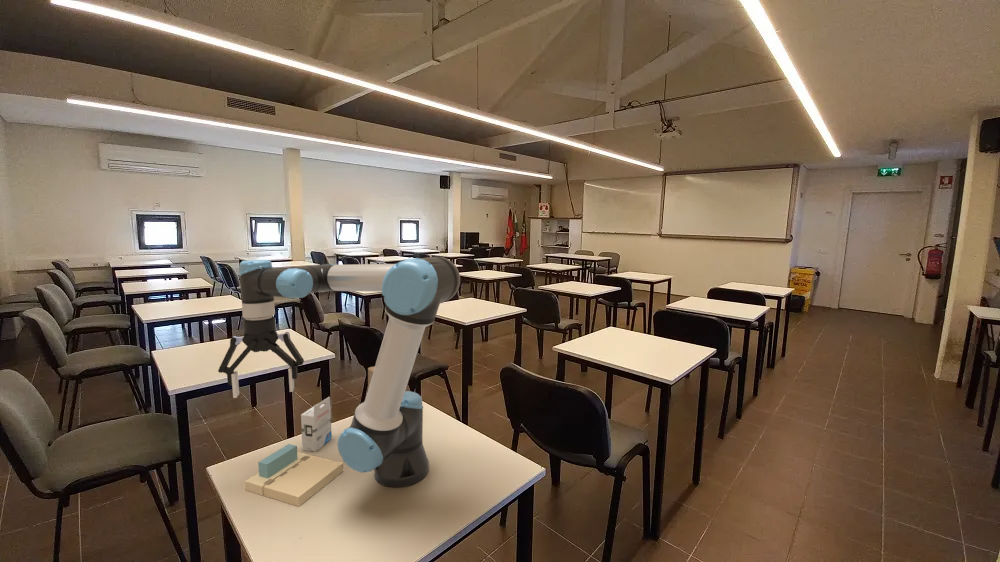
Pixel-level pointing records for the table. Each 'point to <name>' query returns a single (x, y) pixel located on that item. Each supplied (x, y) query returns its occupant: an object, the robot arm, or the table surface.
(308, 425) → the ink box
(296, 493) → the beige flat slab
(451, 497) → the table surface
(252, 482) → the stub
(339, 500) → the table surface
